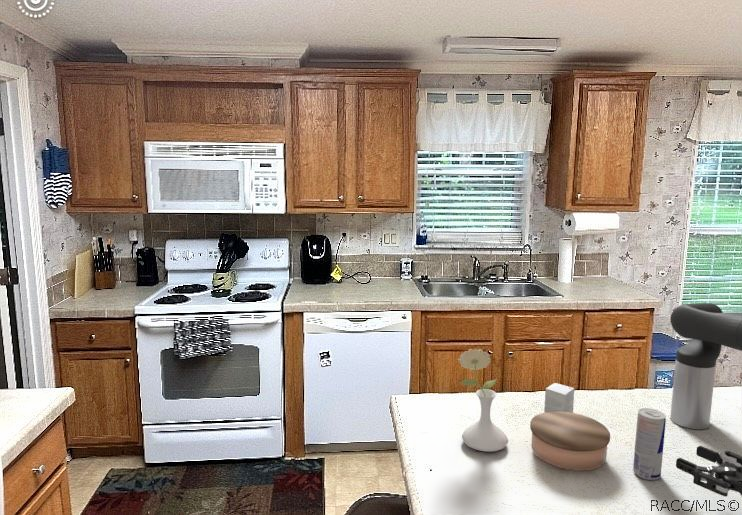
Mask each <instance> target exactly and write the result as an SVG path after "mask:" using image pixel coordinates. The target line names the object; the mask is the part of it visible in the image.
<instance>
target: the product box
mask: <svg viewBox="0 0 742 515" xmlns="http://www.w3.org/2000/svg"><path fill="white" fill-rule="evenodd" d="M574 401H575V388H574V387H572V386H567V385H564V384H560V383H557V382H554V383H552V384H550V385H548V387H546V388H545V394H544V408H543V413H545V412H553V411H561V412H571V413H574V403H575V402H574Z"/></svg>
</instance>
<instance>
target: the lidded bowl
mask: <svg viewBox="0 0 742 515" xmlns="http://www.w3.org/2000/svg"><path fill="white" fill-rule="evenodd" d="M529 427H530V431H531V443H530V444H531V445H530V446H531V450H532V451H533V453H534V454H535V455H536V457H538V458H539V459H541V460H543V461H545V462H546V463H548V464H550V465H552V466H556V467H558V468H562V469H565V470H572V471H587V470H588V471H589V470H594V469H597V468H601V466H603V465H604V464H605V463H606V461H607V454H608V453H607V452H608V445H609V444H610V442H611V432H610V430H609V429H608V428H607V426H606V425H604V424H602V423H601V422H600V421H598V420H596V419H594V418H592V417H589V416H586V415H583V414H580V413H575V412H572V413H571V412H561V411H553V412H542V413H539V414H536V415H535V416H533V417H532V418H531V420H530V423H529Z"/></svg>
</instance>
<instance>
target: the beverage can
mask: <svg viewBox="0 0 742 515" xmlns="http://www.w3.org/2000/svg"><path fill="white" fill-rule="evenodd" d="M666 418H667V415H666V414H665V413H664V412H662V411H660V410H658V409H654V408H649V407H644V408H643V407H642V408H639V409H638V410H637V418H636V429H635V430H636V431H635V441H634V454H633V464H632V466H633V467H632V471H633V472H634V474H635V475H636V476H638V477H640V478H641V479H644V480H647V481H655V480H656V481H657V480H659V479H660V478H661V477H662V476H661V475H662V468H663V467H662V465H663V455H664V453H663V452H664V442H665V432H666V420H667V419H666Z"/></svg>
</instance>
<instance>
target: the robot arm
mask: <svg viewBox="0 0 742 515" xmlns="http://www.w3.org/2000/svg"><path fill="white" fill-rule="evenodd" d="M669 318H670V320H669V321H670V325H671V327H672V329H673V330H674V332H675V333H676V334H678V335H679V336H680V337H682V338H684V339H689V340H690V341H689V342H688V343H686V344H684V345H682V346H680V347H678V348H677V350H676V353H675V354H676V355H675V361H674V362H675V364H674V373H673V374H674V376H673V383H672V394H671V395H672V397H671V404H670V405H671V406H670V414H669V415H670V420H671V421H672V422H673V423H675V424H676V425H678V426H680V427H683V428H687V429H692V430H706V429H708V428H709V427H710V423H711V422H710V421H711V413H712V405H713V394H714V387H715V386H714V385H715V375H716V365H717V361H718V358H719V357H720V355H721V351H722V346H724V347H728V348H730V349H735V350H738V351H741V352H742V312H723V310H722V309H721V307H720V306H718V305H717V304H715V303H709V302H708V303H707V302H705V303H703V302H702V303H701V302H700V303H699V302H698V303H685V304H681V305H678V306H677V307H675V308H674V309H673V311H672V312H671V314H670V317H669ZM695 452H696V453H695V454H696V456H697V457H698V458H699V457H700V458H702V459H705V460H707V461H709V462H712V463H714V464H715V463H716V465H715V466H714V465H709V466H707V467H706V466H700V465H698V464H696V463H693V462H691V461H689V460H686V459H684V458H683V457H678V458H677V459H676V460H675V467H676V468H677V469H678V470H680V471H682V472H685V473H687V474H688V475H691V476H693V479H692V480H693V481H692V482H693V485H694V484H695V485H697V486H699V487H701V488H703V489H706V490H708V491H711V492H713V493H716V494H718V495H719V496H722V497H728V493H729V491H733V492H737V493H739V495H740V496H741V497H742V455H739V454H737V453H735V452H733V451H730V450H725V451H724V452H722V451H715V450H712V449H709V448H707V447H705V446H702V445H699V446H697V447H696V451H695Z"/></svg>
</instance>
